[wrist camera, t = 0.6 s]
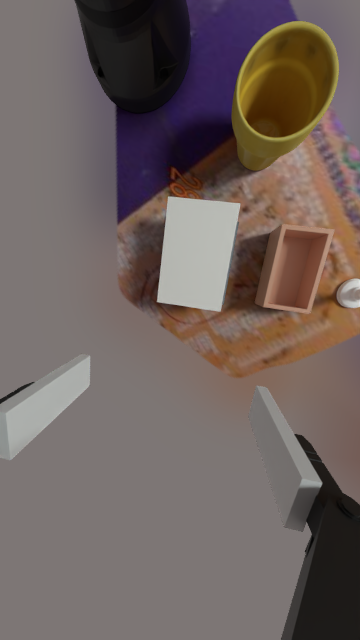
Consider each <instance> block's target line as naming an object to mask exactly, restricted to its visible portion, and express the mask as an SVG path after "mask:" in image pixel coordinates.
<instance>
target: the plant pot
mask: <svg viewBox="0 0 360 640" xmlns="http://www.w3.org/2000/svg"><path fill="white" fill-rule="evenodd" d="M338 72H339V63H338V57H337V52H336V49H335V46H334V44H333V42H332V40H331V39H330V37H329V36H328V35H327V34H326V32H325V31H324V30H322V29H321V28H320V27H318V26H316V25H314V24H312V23H309V22H304V21H294V22H288V23H285V24H282V25H280V26H277V27H275V28H274V29H272V30H270V31H269V32H268V33H266V34H265V35H264V36H262V37H261V38H260V39H259V40H258V41H257V42H256V44H255V45H254V46H253V47H252V48H251V50H250V51H249V53H248V54H247V56H246V58H245V60H244V61H243V63H242V66H241V68H240V70H239V73H238V77H237V81H236V86H235V91H234V97H233V105H232V126H233V130H234V134H235V136H236V138H237V153H238V157H239V160H240V162H241V163H242V164H243V165H244V166H245V167H246V168H248V169H250V170H254V171H257V170H262V169H265V168H267V167H268V166H270V165H271V164H272V163H273V162H274V161H275V160H277V159H278V158H279V157H280V156H282V155H284V154H287V153H288V152H290V151H292V150H293V149H295V148H296V147H297V146H298V145H300V144H301V143H302V142H303V141H304V139H305V138H306V137H307V136H308V135H309V134H310V132H311V131H312V130H313V128H314V127H315V126H316V125H317V123H318V122H319V120H320V119H321V118H322V116H323V115H324V113H325V112H326V110H327V108H328V107H329V105H330V103H331V101H332V98H333V96H334V93H335V89H336V86H337V81H338V74H339V73H338Z"/></svg>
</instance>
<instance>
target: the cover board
mask: <svg viewBox="0 0 360 640" xmlns="http://www.w3.org/2000/svg"><path fill="white" fill-rule="evenodd" d="M239 209H240V203H229V202H219V201H209V200H199V199H189V198H178V197H168V204H167V213H166V223H165V232H164V241H163V251H162V260H161V269H160V279H159V288H158V297H157V302H160V303H166V304H173V305H180V306H186V307H193V308H200V309H206V310H213V311H220V312H221V306H222V301H223V296H224V290H225V285H226V279H227V274H228V268H229V263H230V258H231V252H232V247H233V241H234V236H235V230H236V225H237V220H238V214H239Z"/></svg>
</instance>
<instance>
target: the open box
mask: <svg viewBox="0 0 360 640" xmlns="http://www.w3.org/2000/svg"><path fill="white" fill-rule="evenodd" d="M333 234H334V229H324V228H315V227H305V226H296V225H287V224H282V225H281V226H279V227H278V228H276V229H275V230H274V231H272V232H271V233H270V236H269V240H268V245H267V249H266V254H265V258H264V263H263V267H262V272H261V276H260V281H259V285H258V290H257V294H256V299H255V304H257V305H260V306H262V307H266V308H273V309H280V310H287V311H294V312H301V313H308V314H310V312H311V309H312V305H313V302H314V299H315V295H316V292H317V288H318V285H319V281H320V278H321V275H322V271H323V268H324V264H325V261H326V257H327V254H328V251H329V247H330V244H331V240H332V237H333Z"/></svg>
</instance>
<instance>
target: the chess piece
mask: <svg viewBox="0 0 360 640" xmlns="http://www.w3.org/2000/svg"><path fill="white" fill-rule="evenodd" d="M337 300H338V302H339V303H340V304H341V305H342V306H344V307H346V308H357V307H360V279H350V280H347V281H346V282H344V283H343V284H342V285H341V286H340V287H339V289H338V291H337Z"/></svg>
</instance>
